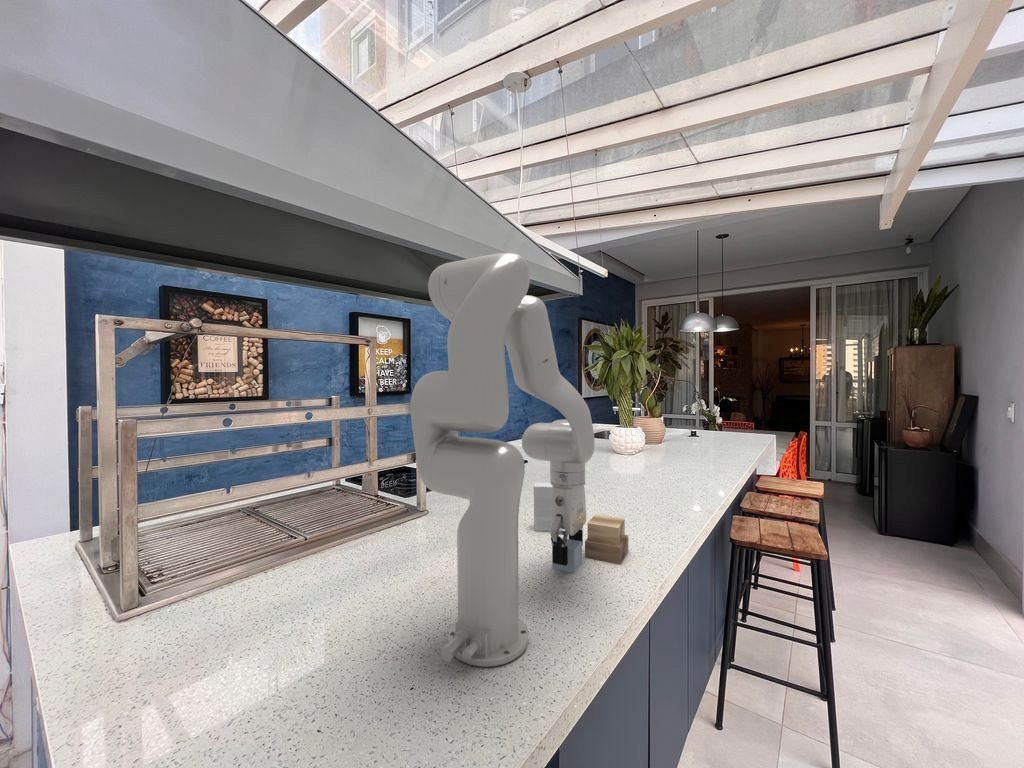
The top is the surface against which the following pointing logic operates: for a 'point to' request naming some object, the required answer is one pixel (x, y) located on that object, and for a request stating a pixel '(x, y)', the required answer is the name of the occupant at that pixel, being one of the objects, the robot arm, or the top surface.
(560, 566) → the cube
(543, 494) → the skincare box
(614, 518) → the tower top
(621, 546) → the tower base
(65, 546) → the top surface
